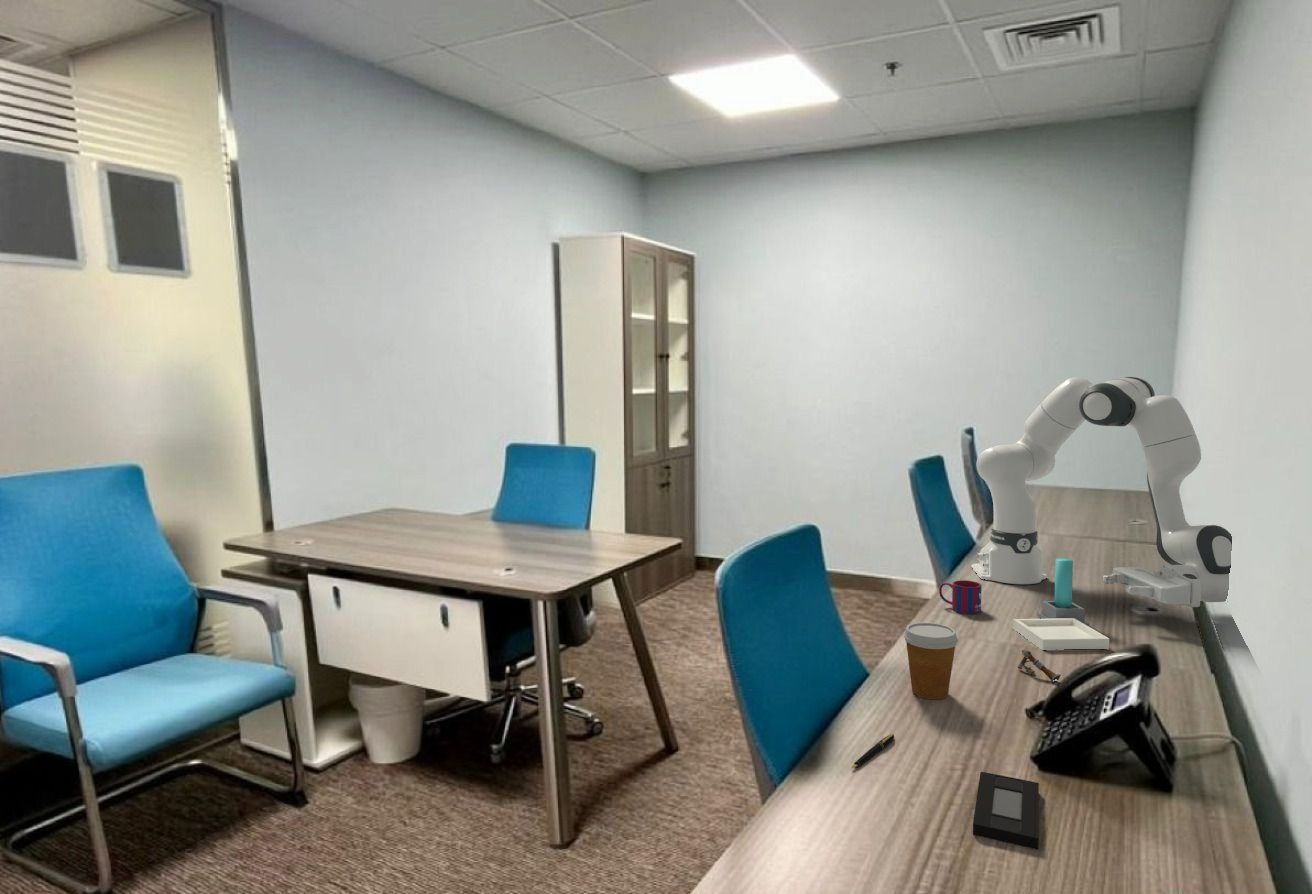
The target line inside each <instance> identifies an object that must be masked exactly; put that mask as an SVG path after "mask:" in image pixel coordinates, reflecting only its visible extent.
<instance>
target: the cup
mask: <svg viewBox="0 0 1312 894" xmlns="http://www.w3.org/2000/svg"><path fill="white" fill-rule="evenodd" d="M982 585H983V584H981V582H977V581H973V580H963V579H962V580H961V579H960V580H954V581H953V582H952V583H950V582H942V583H941V584H940V586H939V588H938V592H939V596H940V598H941V599H942V601H944V602H945V603H947V604H948V605H951V607H952V608H951V609H952V611H954V612H955V611H956V612H955V613H958V612H959V614H962V613H966V614H965V615H977V613H978V614H980V613H982V590H983V589H982V588H983V587H982ZM944 586H948V587H950V588H951V592H952V594H951V595H952V599H951V601H950V600H948V599H947V598H945V596H943V592H942V588H943V587H944Z"/></svg>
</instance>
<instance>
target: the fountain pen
mask: <svg viewBox="0 0 1312 894" xmlns="http://www.w3.org/2000/svg"><path fill="white" fill-rule="evenodd" d="M894 739H895V734H894V733H891V734H888V735H887V736H884V738H882V739H881V740H879V741H878V742H876V744H875V745H873V746H872V747H871V748H870V749H868V750H867V751H866V752H864V754H863V755H861V756H860V757H859V758H858V759H857V760H856V761H855V762H854V763H853V765H852V766H851V769H855V768H859V767H861V766H862V765H864V764H865V763H866V762H868V761H869V760H870V759H872V758H873V757H875V756H876V755H877V754H879V752H881V751H883V750H884V749H885V748H887V747H888V746H889V744H891V743H892V741H893V740H894Z"/></svg>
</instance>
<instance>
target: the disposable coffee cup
mask: <svg viewBox="0 0 1312 894" xmlns="http://www.w3.org/2000/svg"><path fill="white" fill-rule="evenodd" d="M903 638H904V641H905V644H906V650H907V651H906V652H907V658H908V659H907V660H908V668H909V674H910V675H909V676H910V683H911V691H912V694H914V695H915V696H916V697H920V698H922V699H926V700H927V699H928V700H943V699H946V698H947V697H948V696H949V690H950V685H951V684H950V682H951V676H952V669H953V664H954V657H955V650H956V646H957V643H958V642H959V637H958V636H957V633H956V630H955V629H954V628H953V627H951V626H948V625H945V624H941V623H935V622H914V623H910V624H908V625H907V626H906V627H905V631H904V632H903Z"/></svg>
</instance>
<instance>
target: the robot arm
mask: <svg viewBox="0 0 1312 894" xmlns="http://www.w3.org/2000/svg"><path fill="white" fill-rule="evenodd" d="M1084 421H1087V422H1089V423H1091V424H1093V425H1097V426H1101V427H1102V426H1103V427H1126V426H1128V425H1129V426H1131V427H1133V428H1134V429H1135V431H1136V432H1137V434H1138V437H1139V440H1140V443H1141V446H1142V449H1143V451H1144V457H1145V460H1146V464H1147V465H1146V467H1147V473H1146V481H1147V487H1148V488H1147V489H1148V493H1149V497H1150V501H1151V506H1152V510H1153V514H1154V519H1155V523H1156V540H1155V541H1156V544H1155V545H1156V549H1157V552H1158V554H1159V556H1160V557H1161V558H1162V559H1163V560H1164V561H1165V562H1166V563H1168V564H1165V565H1161V566H1160V568H1158V570H1156V571H1152V570H1150V569H1147V568H1143V567H1135V566H1134V567H1133V566H1132V567H1131V566H1117V567H1114V568H1112V573H1111V574H1103V575H1102V583H1104V584H1107V585H1113V584H1114V583H1116V584H1118V585H1120V586H1123V587H1125V592H1126V593H1127V594H1129V595H1131V596H1143V597H1148V598H1150V599H1152V600H1155V601H1157V602H1159V603H1161V604H1166V605H1175V606H1187V607H1190V608H1199V607H1200V606H1201V602H1205V603H1225V601H1226V599H1227V596H1228V590H1229V573H1230V568H1231V551H1232V536H1233V535H1232V534H1231V533H1230V531H1228V530H1227V529H1226V528H1224V527H1222V526H1221V525H1217V524H1215V525H1214V524H1211V525H1209V524H1208V525H1206V524H1205V525H1203V524H1200V525H1190V524H1189V523H1188V521H1187V520H1186V516H1185V512H1184V509H1183V503H1182V499H1181V495H1180V487H1181V484H1182V482H1183V481H1184V480H1185V478H1187V477H1188V476H1189V475H1191V474H1192V473H1193V472H1194V471H1195V470H1196V469H1197V467H1198V466H1199V464H1200V463H1201V460H1202V453H1201V451H1202V449H1201V446H1200V442H1199V440H1198V436H1197V433H1196V430H1195V428H1194V426H1193V424H1192V422H1191V420H1190V417H1189V416H1188V414H1187V412H1186V411H1185V409H1184V407H1183V405H1182V403H1181V402H1180V401H1179V400H1178V399H1177V398H1176V397H1174V396H1171V395H1167V394H1163V395H1161V394H1159V395H1156V394H1155V390H1154V389H1153V386H1152V385H1151V384H1150V383H1149V382H1148V381H1146V380H1145V379H1142V378H1139V377H1134V376H1125V377H1120V378H1119V377H1118V378H1113V379H1109V380H1106V381H1104V382H1100V383H1097V384H1094V383H1092V382H1091V381H1089V380H1088V379H1085V378H1083V377H1078V376H1073V377H1070V378H1067V379H1066V380H1064V381H1062V383H1060V384H1059V385H1057V386H1056V388H1054V389H1053V390H1052V391H1051V392H1050V393H1049V394H1048V395H1047V396H1045V398H1044V399H1043V400H1042V401H1041V402H1040V404H1039V405H1038V406H1037V407H1036V408H1035V409H1034V411H1033V412H1032V413H1031V414H1030V415H1029V417H1028V418H1027V419H1026V420H1025V422H1024V423H1023V424H1024V425H1023V429H1024V433H1023V435H1022V436H1021V438H1020V439H1019V440H1018V441H1016V442H1015V443H1011V444H1010V443H1009V444H1007V443H1006V444H999V445H995V446H991V447H988V448H987V449H985V450H983V451H981V452H980V454H978V456H977V459H976V464H975V465H976V471H977V473H978V476H980V478H981V479H982V480H983V481H985V483H986V485H987V486H988V488H989V491H990V493H991V494H990V496H991V499H992V503H993V505H992V507H993V528H991V529H990V530H991V531H990V537H989V540H990V541H989V542H988V543H987V544H986V545H984V546H983V547H982V548H981V549H980V551H979V552H977V553H976V557H977V558H976V559H977V561H979V562H976V563H972V564H971V567H972V568H973V569H972V568H971V569H972V570H973V572H974V573H975V572H976V573H977V574H976V573H975V574H976V575H977V576H978V578H979V577H980V578H981V580H984V579H985V581H994V582H998V583H1003V584H1004V583H1005V584H1009V585H1011V584H1013V585H1035V584H1039V583H1041V582H1042V581H1043V580H1046V578H1047V579H1048V574H1046V573H1044V572H1043V571H1044V569H1043V568H1044V567H1043V553H1042V550H1041V548H1039V547H1038V546H1037V544H1038V540H1039V536H1038V531H1037V504H1036V502H1035V500H1034V499H1032V498H1031V497H1030V495H1029V492H1028V490H1027V484H1026V482H1031V481H1037V480H1040V479H1042V478H1044V477H1046V476H1048V475H1049V474H1051V473H1052V472H1053V470H1054V468H1055V465H1056V455H1057V453H1058V451H1059V450H1060V448H1061V447H1062V446H1063V444H1064V443H1066V441H1067V440H1068V439H1069V438H1070V437H1071V436H1072V434H1073V433H1074V432H1075V431H1076V430H1077V429H1078V428H1079V427H1080V426H1081V425H1082V424H1083V423H1084ZM1231 535H1232V536H1231ZM980 578H979V579H980Z"/></svg>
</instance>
